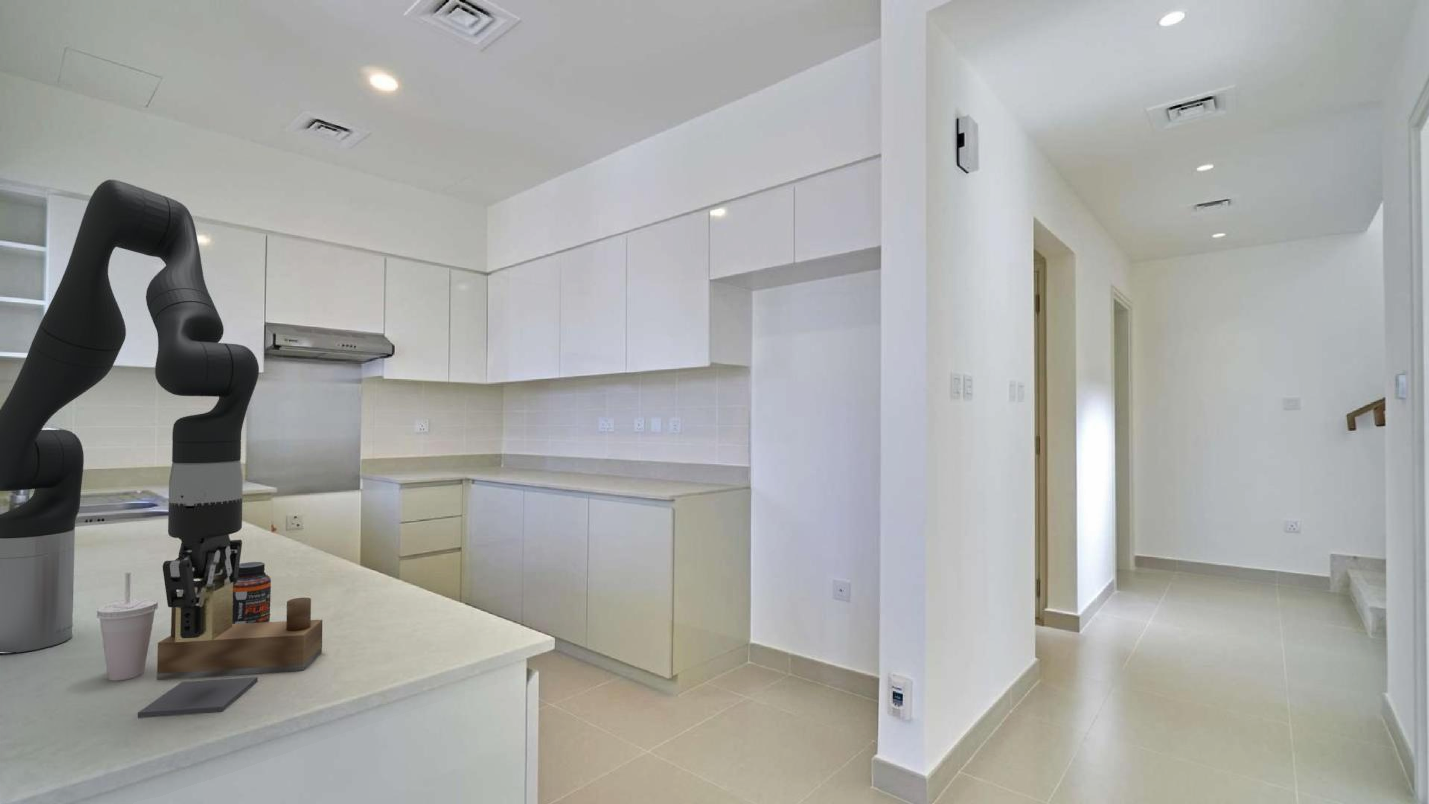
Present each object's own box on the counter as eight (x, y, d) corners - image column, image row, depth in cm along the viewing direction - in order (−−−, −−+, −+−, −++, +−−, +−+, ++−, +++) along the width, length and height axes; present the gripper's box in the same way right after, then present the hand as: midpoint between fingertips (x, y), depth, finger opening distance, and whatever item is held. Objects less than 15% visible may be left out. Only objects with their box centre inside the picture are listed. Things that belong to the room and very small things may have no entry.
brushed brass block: (175, 642, 81) (176, 589, 81) (197, 629, 86) (198, 578, 86) (211, 640, 82) (212, 587, 82) (232, 627, 87) (233, 577, 87)
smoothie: (151, 662, 95) (153, 565, 95) (161, 674, 91) (164, 573, 91) (90, 675, 90) (93, 574, 90) (99, 688, 86) (101, 582, 86)
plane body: (156, 679, 89) (158, 598, 89) (186, 660, 96) (188, 585, 96) (303, 670, 93) (304, 592, 93) (321, 652, 100) (323, 580, 100)
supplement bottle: (246, 640, 105) (248, 569, 105) (215, 637, 106) (217, 567, 106) (278, 628, 110) (280, 561, 111) (249, 625, 112) (250, 559, 112)
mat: (137, 717, 79) (137, 712, 79) (181, 686, 87) (181, 681, 87) (222, 711, 80) (222, 706, 80) (257, 681, 89) (257, 677, 89)
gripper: (204, 490, 91) (201, 614, 90) (136, 505, 76) (133, 652, 76) (264, 489, 92) (262, 611, 92) (209, 504, 78) (206, 647, 78)
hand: (204, 629), depth 84 cm, fingers closed on brushed brass block, 5 cm apart
